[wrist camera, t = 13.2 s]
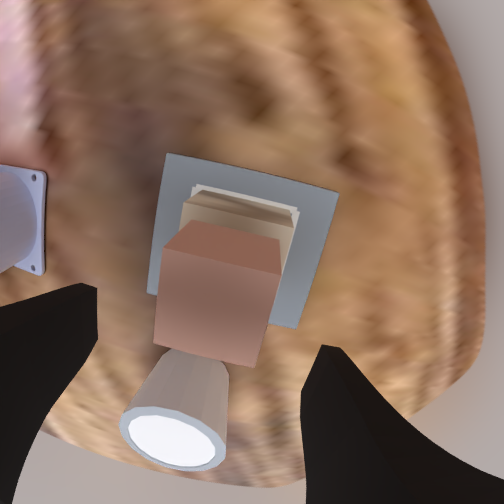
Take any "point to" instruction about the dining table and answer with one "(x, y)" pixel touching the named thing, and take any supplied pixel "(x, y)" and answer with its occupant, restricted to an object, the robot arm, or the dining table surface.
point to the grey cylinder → (180, 413)
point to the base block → (240, 216)
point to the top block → (216, 292)
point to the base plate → (259, 190)
